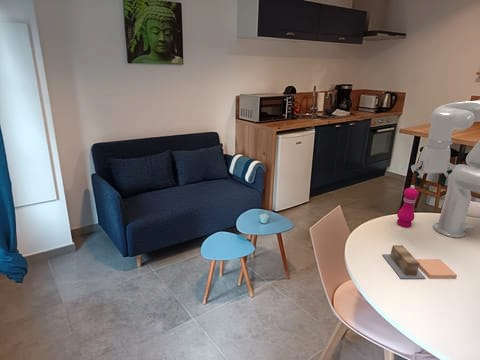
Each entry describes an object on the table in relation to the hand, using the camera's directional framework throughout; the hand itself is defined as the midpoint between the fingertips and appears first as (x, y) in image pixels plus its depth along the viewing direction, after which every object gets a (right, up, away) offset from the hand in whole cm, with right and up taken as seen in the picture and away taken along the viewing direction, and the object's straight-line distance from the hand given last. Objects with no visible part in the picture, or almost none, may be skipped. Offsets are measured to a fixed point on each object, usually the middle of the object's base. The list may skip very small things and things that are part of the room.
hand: (429, 185), depth 131 cm
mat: (-14, -30, -7) cm, 34 cm away
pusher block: (-14, -30, -8) cm, 34 cm away
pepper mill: (+2, -19, +25) cm, 32 cm away
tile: (-3, -29, -4) cm, 30 cm away
